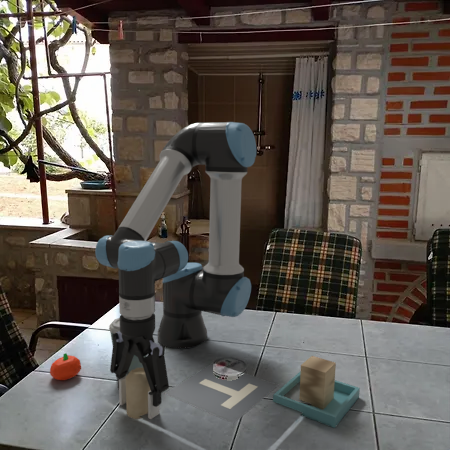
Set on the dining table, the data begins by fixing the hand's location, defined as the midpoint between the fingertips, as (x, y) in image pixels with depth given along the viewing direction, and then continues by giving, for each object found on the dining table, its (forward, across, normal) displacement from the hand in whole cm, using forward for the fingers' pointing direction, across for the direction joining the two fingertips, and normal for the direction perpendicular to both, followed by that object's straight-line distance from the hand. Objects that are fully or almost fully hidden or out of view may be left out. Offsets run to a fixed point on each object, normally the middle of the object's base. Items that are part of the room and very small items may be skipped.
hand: (139, 410), depth 104 cm
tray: (0, +30, +28) cm, 41 cm away
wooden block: (0, +30, +28) cm, 41 cm away
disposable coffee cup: (+1, -14, +11) cm, 18 cm away
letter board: (0, +10, +18) cm, 21 cm away
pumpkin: (+1, -26, 0) cm, 26 cm away
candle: (+1, 0, 0) cm, 1 cm away
